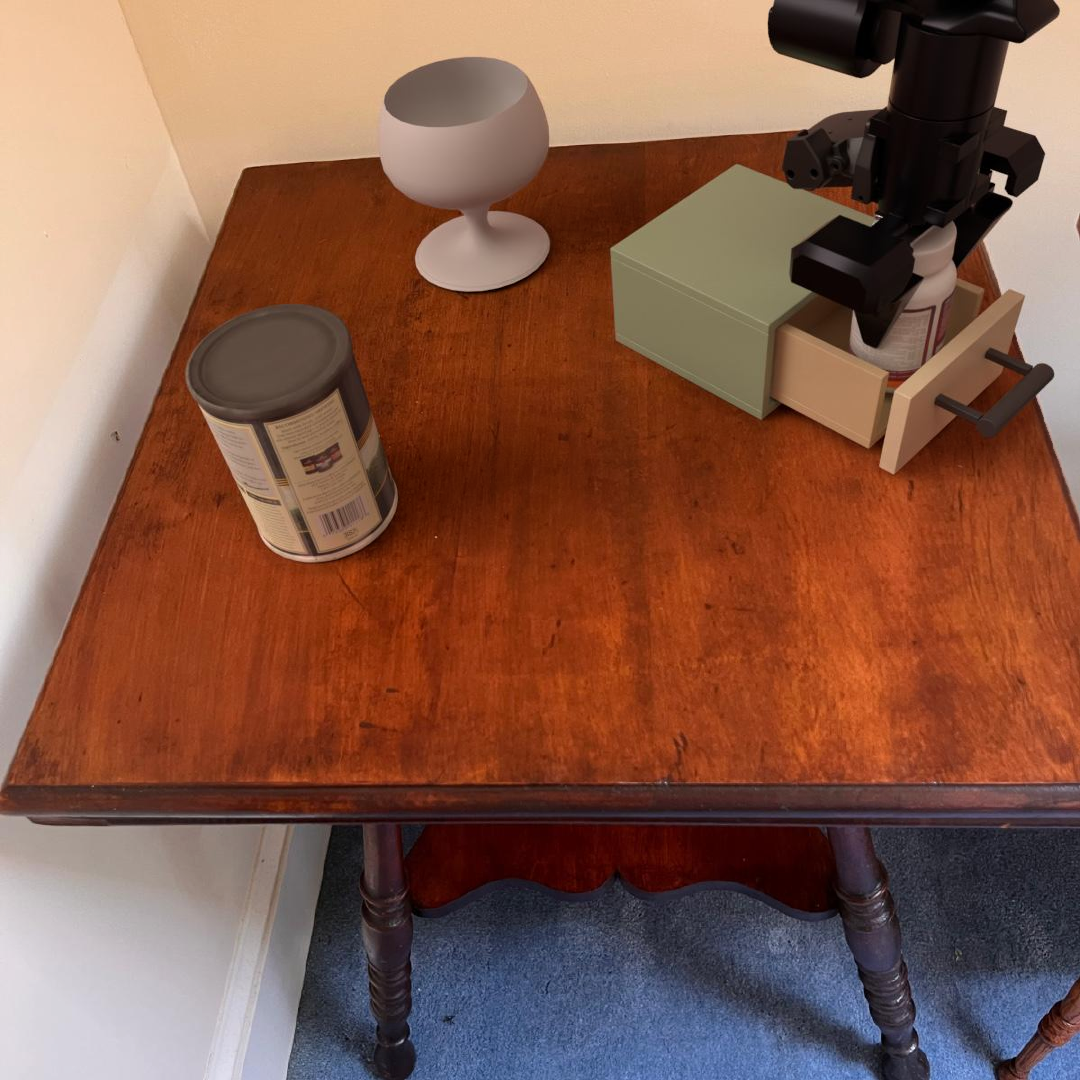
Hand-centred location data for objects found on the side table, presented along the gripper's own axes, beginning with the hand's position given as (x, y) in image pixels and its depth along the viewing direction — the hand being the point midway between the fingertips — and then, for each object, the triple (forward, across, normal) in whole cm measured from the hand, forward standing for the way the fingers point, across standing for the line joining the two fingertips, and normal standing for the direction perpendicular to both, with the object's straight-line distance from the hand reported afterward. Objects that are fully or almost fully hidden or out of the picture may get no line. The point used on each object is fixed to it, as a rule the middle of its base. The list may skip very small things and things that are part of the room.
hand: (898, 321), depth 70 cm
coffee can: (+7, +34, -23) cm, 42 cm away
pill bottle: (+4, 0, 0) cm, 4 cm away
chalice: (+7, +6, -38) cm, 39 cm away
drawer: (+6, 0, +1) cm, 6 cm away
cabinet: (+7, 0, -13) cm, 15 cm away
